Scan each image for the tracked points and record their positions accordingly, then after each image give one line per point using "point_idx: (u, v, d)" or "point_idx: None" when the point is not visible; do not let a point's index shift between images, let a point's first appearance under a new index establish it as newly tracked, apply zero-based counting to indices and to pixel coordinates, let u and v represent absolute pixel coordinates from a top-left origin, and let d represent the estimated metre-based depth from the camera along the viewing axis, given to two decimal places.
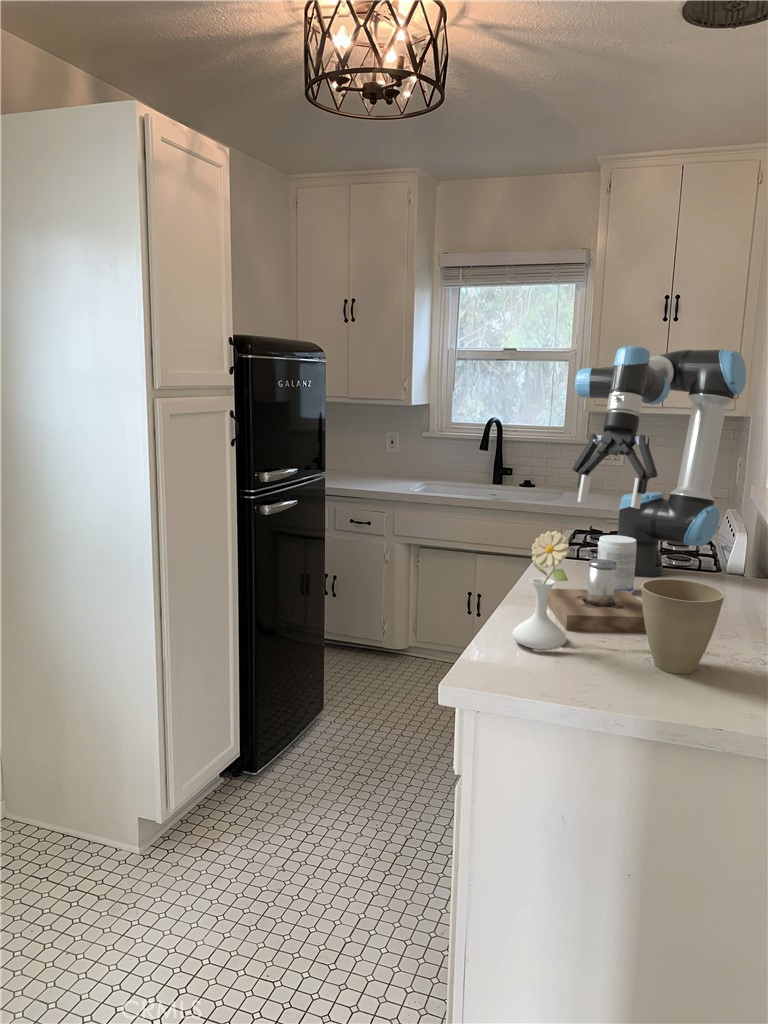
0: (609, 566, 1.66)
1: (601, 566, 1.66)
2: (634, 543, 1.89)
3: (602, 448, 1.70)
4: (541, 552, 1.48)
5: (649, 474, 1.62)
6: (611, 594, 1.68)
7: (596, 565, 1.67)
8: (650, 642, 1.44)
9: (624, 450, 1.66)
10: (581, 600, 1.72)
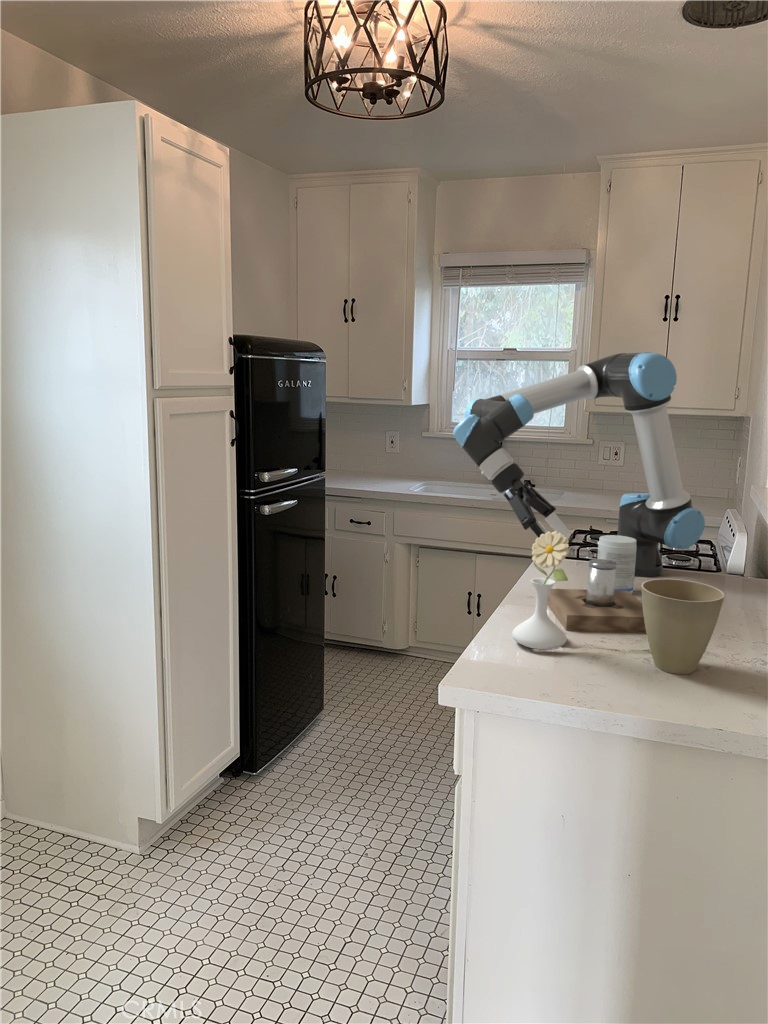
0: (609, 566, 1.66)
1: (601, 566, 1.66)
2: (634, 543, 1.89)
3: None
4: (541, 552, 1.48)
5: None
6: (611, 594, 1.68)
7: (596, 565, 1.67)
8: (650, 642, 1.44)
9: None
10: (581, 600, 1.72)
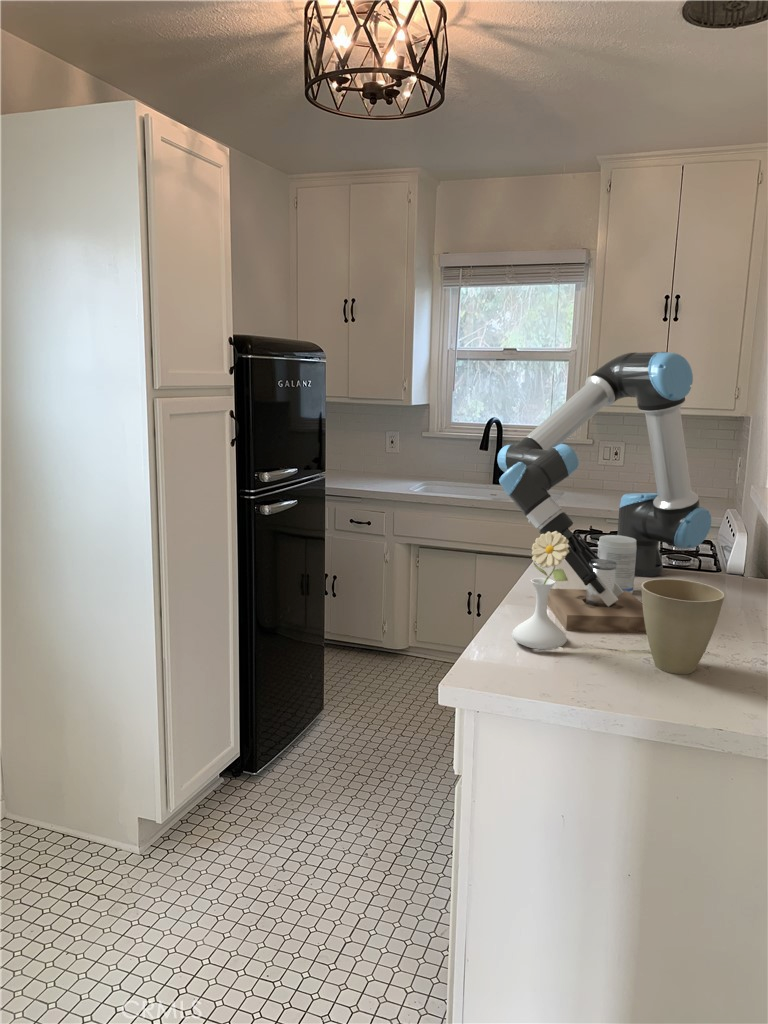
0: (609, 566, 1.66)
1: (601, 566, 1.66)
2: (634, 543, 1.89)
3: None
4: (541, 552, 1.48)
5: None
6: None
7: (596, 565, 1.67)
8: (650, 642, 1.44)
9: None
10: (581, 600, 1.72)
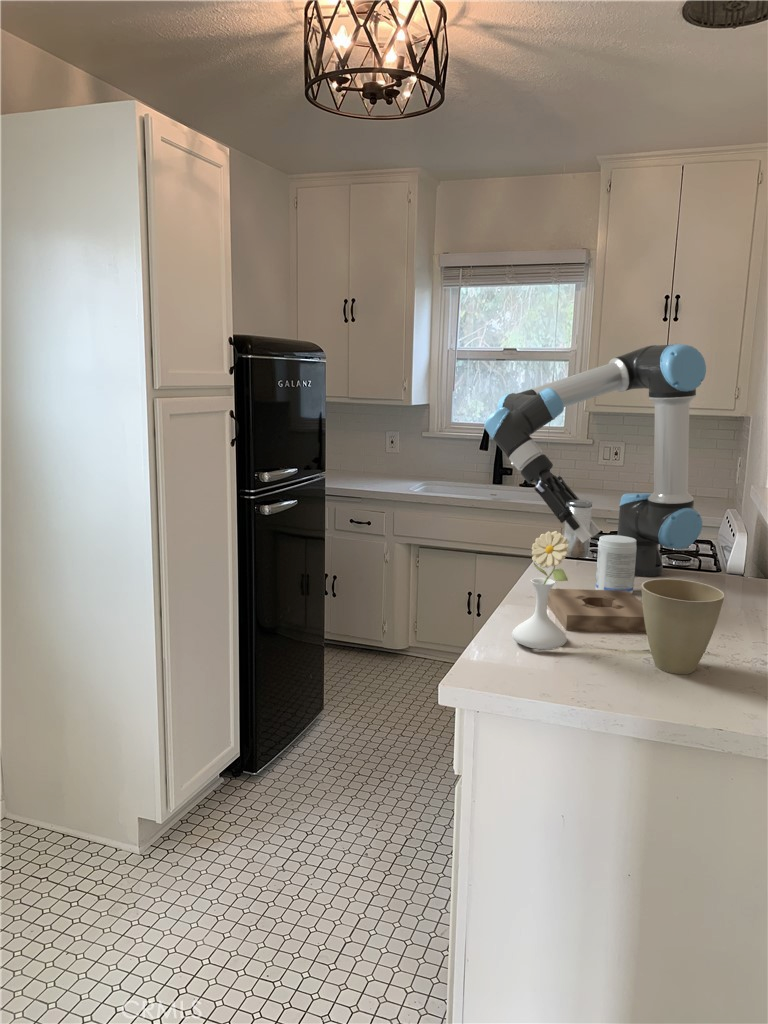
0: (584, 504, 1.74)
1: (576, 504, 1.74)
2: (634, 543, 1.89)
3: None
4: (541, 552, 1.48)
5: None
6: None
7: (571, 503, 1.75)
8: (650, 642, 1.44)
9: None
10: (581, 600, 1.72)
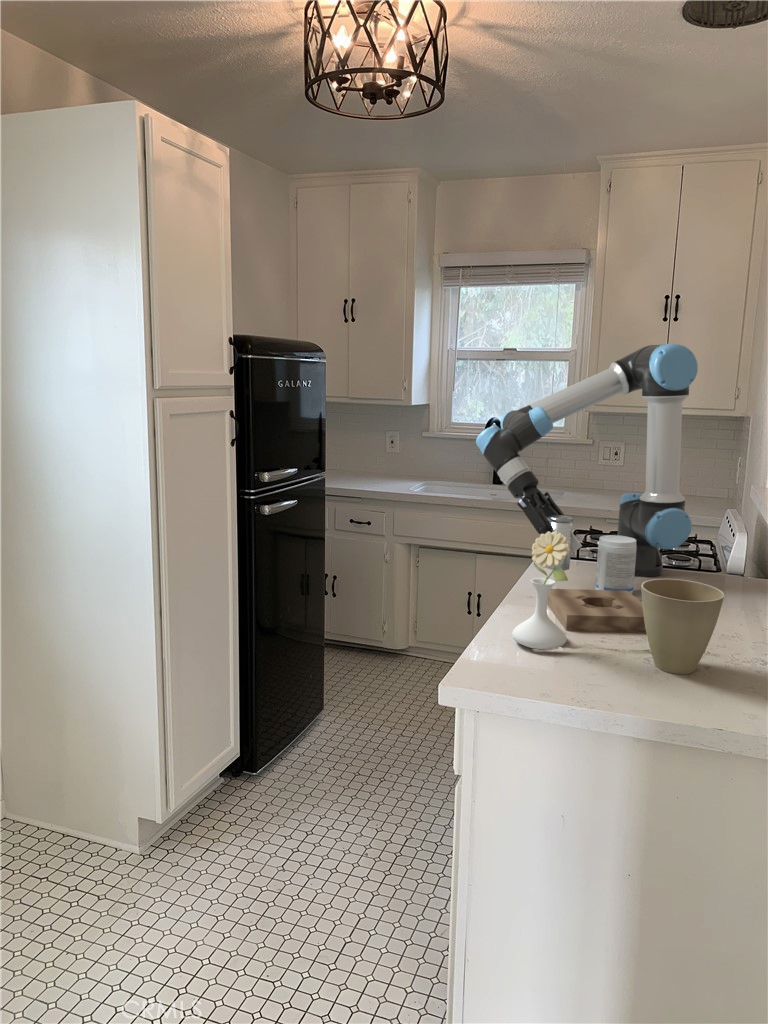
0: (563, 520, 1.83)
1: (556, 519, 1.83)
2: (634, 543, 1.89)
3: None
4: (541, 552, 1.48)
5: None
6: None
7: (552, 519, 1.84)
8: (650, 642, 1.44)
9: None
10: (581, 600, 1.72)
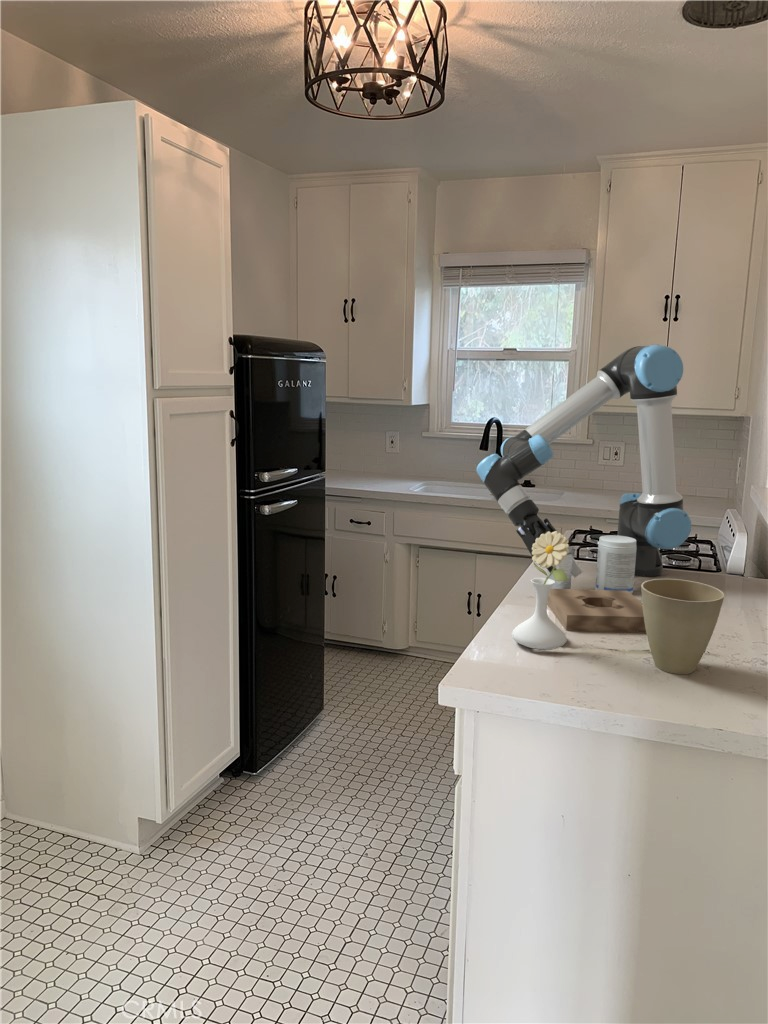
0: None
1: None
2: (634, 543, 1.89)
3: None
4: (541, 552, 1.48)
5: None
6: (567, 577, 1.85)
7: None
8: (650, 642, 1.44)
9: None
10: (581, 600, 1.72)
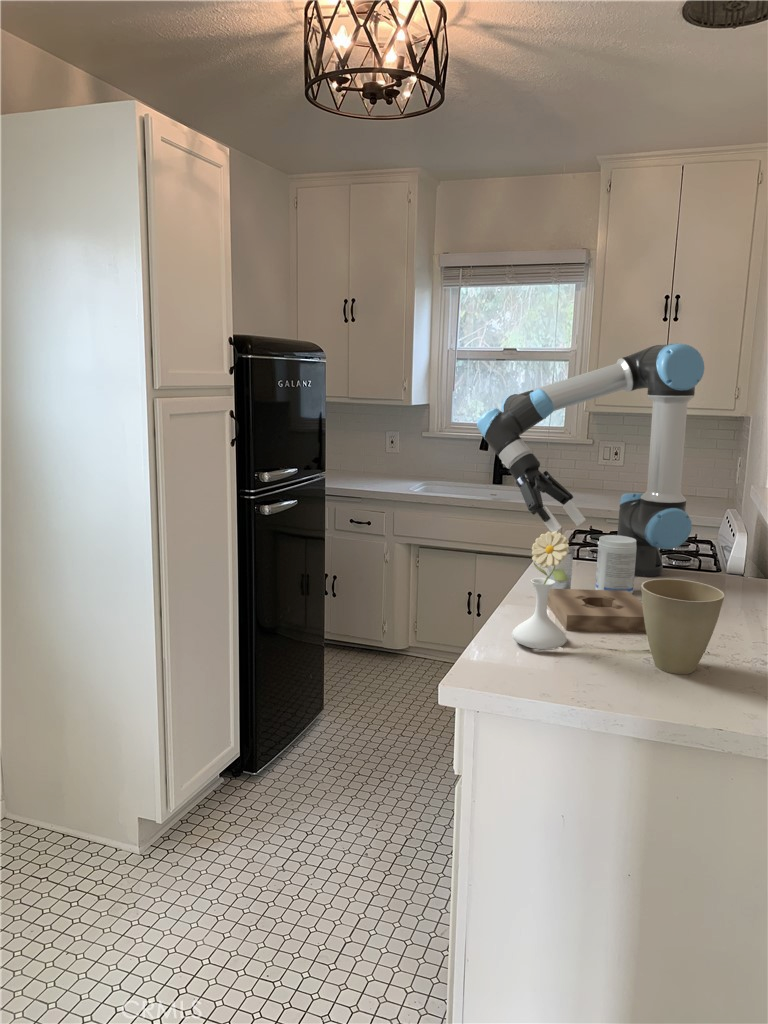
0: None
1: None
2: (634, 543, 1.89)
3: None
4: (541, 552, 1.48)
5: None
6: (567, 576, 1.85)
7: None
8: (650, 642, 1.44)
9: None
10: (581, 600, 1.72)
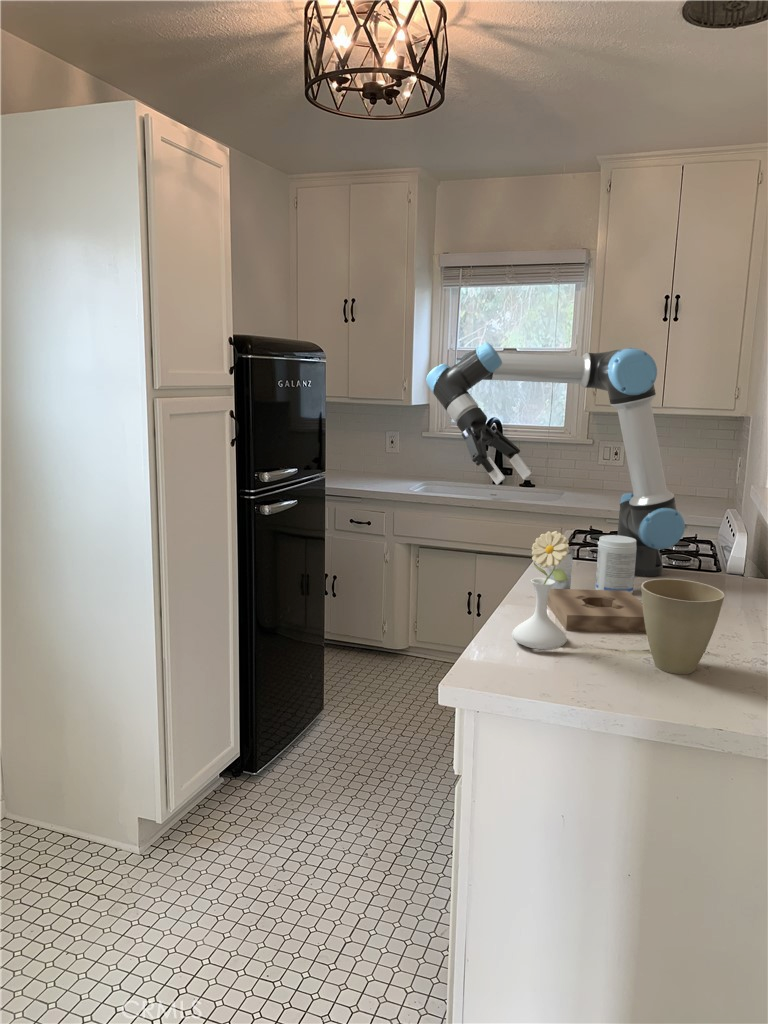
0: None
1: None
2: (634, 543, 1.89)
3: None
4: (541, 552, 1.48)
5: None
6: (567, 576, 1.85)
7: None
8: (650, 642, 1.44)
9: None
10: (581, 600, 1.72)
